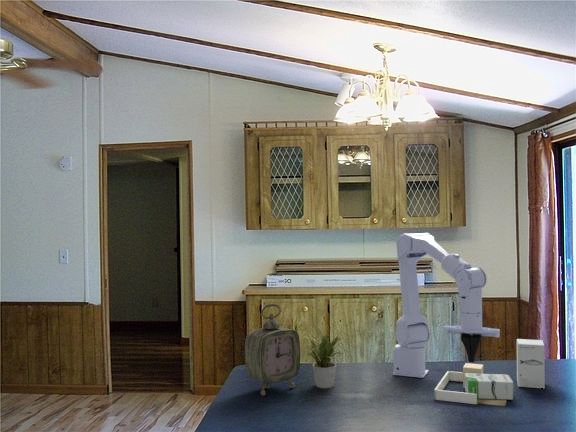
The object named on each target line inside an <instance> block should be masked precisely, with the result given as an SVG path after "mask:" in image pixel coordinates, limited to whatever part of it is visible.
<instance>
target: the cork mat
mask: <svg viewBox="0 0 576 432" xmlns="http://www.w3.org/2000/svg"><path fill="white" fill-rule="evenodd" d="M507 401H508V399H477V404H480V405H481V404H483V405H489V406H497V407H498V406H500V407H506V404H507Z"/></svg>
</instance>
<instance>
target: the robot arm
mask: <svg viewBox="0 0 576 432" xmlns="http://www.w3.org/2000/svg"><path fill="white" fill-rule="evenodd" d="M396 255H397V256H396V257H397V261H398V269H399V282H400V294H401V304H402V306H401V308H402V315H401V316H400V317H399V318H398V319H397V320H396V322H395V323H396V328H395V331H394V333H395V339H396V341H397V344H395V345H394V348H393V375H394V376H399V377H400V376H401V377H409V378H410V377H412V378H421V379H422V378H425V377H426V376H427V374H428V373H429V372H430V371H429V369H426V346H428V342H429V341H430V339H431V329H430V327H429V324H428V319H427V317H425V316H424V315H422V314H421V305H420V304H421V303H420V295H419V294H420V290H419V281H418V271H417V263H418V262H419V260H420V259H423V257H425V256H426V255H428V256H430V257H432V258H433V259H434V260H435V261H436V262H439V264H441V269H442V270H443V271H444V272H445V273H446V274H448V275H449V276H450V277H451V278H453V279H454V281H455V286H456V287H457V289H458V290H457V291H458V296H459V303H460V306H459V307H460V310H459V311H460V312H459V314H460V325H444V326H443V334H445V335H448V334H452V335H460V340H461V343H462V345H463V347H464V350H465V352H466V354H467V358H468V363H475V362H476V356H477V351H478V349H479V345H480V343H481V341H482V338H483V337H491V338H492V337H494V338H498V339H499V338H500V333H501V331H500V329H499V328H493V327H492V328H491V327H483V288H484V287H485V286H486V284H487V274H486V272H485V271H484V269H482V267H480V266H477V267H475V266H472V265H471V263H469V262H466V261H465V260H464V259H463V258H461V255H460V254H458V253H449V252H447V251H446V250H445V249H444V248H443V247H442V246H441V245H440V244H439V243H437V241H436V239H435V237H434V236H433V235H431V233H429V232H423V233H422V232H421V233H402V234H400V235H399V236H398V238H397V240H396Z"/></svg>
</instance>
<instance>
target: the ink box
mask: <svg viewBox="0 0 576 432" xmlns="http://www.w3.org/2000/svg"><path fill="white" fill-rule="evenodd" d="M464 391H465V393H473V394H477V399H507V401H509V400H514V381H513V380H512V377H510V375H509V374H503V373H502V374H501V373H500V374H499V373H495V374H494V373H483V374H476V373H465V388H464Z"/></svg>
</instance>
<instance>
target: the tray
mask: <svg viewBox="0 0 576 432" xmlns="http://www.w3.org/2000/svg"><path fill="white" fill-rule="evenodd" d="M449 381H452V382H462V383H463V371H462V372H461V371H452V370H451V371H450V370H447V371H446V372H445V374H444V375H443V376H442V378H441V380H439V382H438V384H437V385H436V386H435V388H434V390H433V396H434V397H433V400H436V401H444V402H453V403H463V404H470V405H478V403H477V394H473V393H466V392H463V391H461V392H460V391H455V390H453V391H452V390H444V389H445V387H446V386H447V384H449Z"/></svg>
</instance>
